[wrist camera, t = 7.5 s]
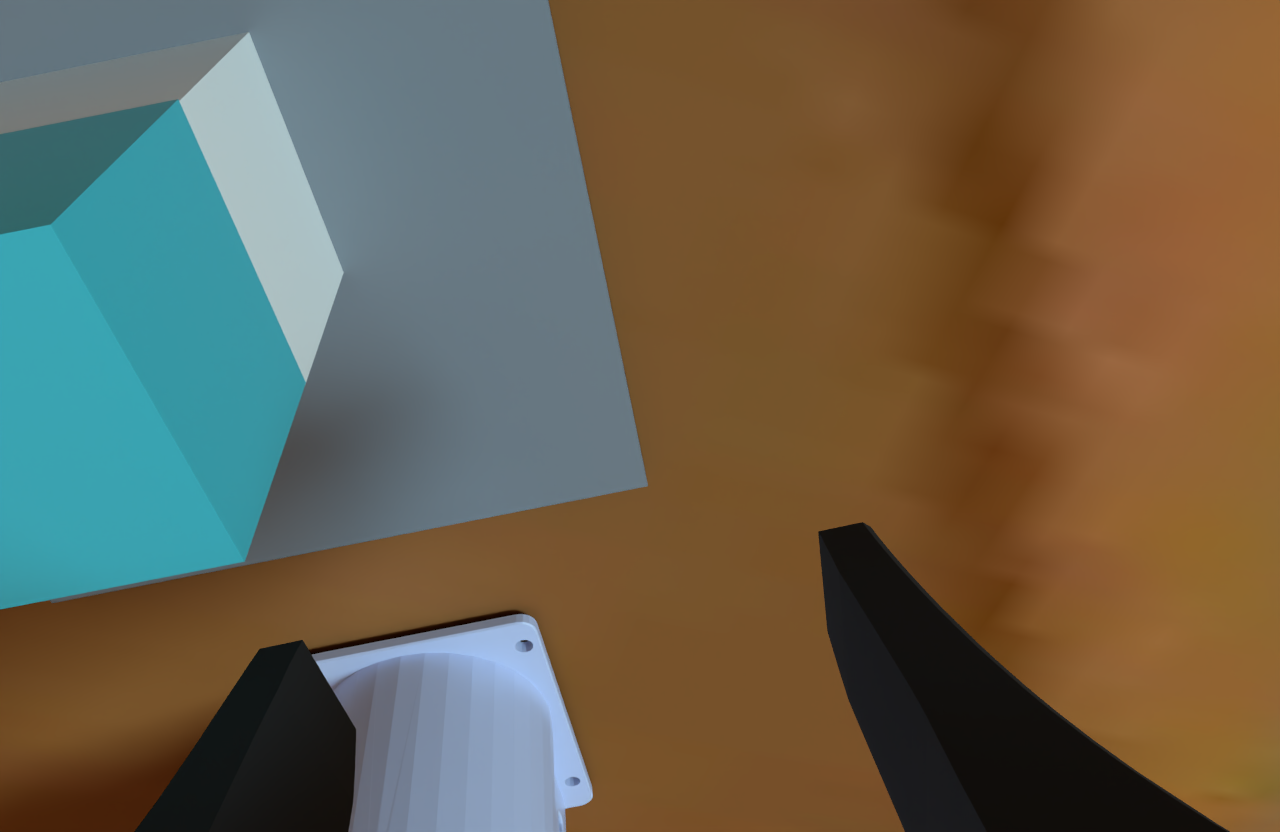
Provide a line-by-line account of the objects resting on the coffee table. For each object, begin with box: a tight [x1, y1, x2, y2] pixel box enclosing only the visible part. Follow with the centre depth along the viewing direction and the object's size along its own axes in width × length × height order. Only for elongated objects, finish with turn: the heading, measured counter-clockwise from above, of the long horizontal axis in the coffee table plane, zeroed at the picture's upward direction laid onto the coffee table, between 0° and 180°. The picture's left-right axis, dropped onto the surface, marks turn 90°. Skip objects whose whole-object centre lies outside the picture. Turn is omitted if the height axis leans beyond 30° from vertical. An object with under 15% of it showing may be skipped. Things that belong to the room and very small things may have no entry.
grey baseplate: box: [0, 0, 648, 603], centre depth 20 cm, size 16×16×1 cm
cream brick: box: [0, 32, 344, 382], centre depth 17 cm, size 5×5×4 cm
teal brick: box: [0, 99, 306, 609], centre depth 13 cm, size 5×5×4 cm
